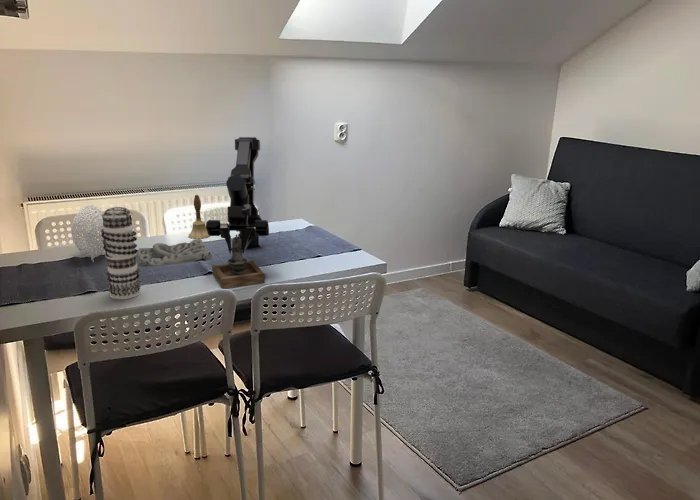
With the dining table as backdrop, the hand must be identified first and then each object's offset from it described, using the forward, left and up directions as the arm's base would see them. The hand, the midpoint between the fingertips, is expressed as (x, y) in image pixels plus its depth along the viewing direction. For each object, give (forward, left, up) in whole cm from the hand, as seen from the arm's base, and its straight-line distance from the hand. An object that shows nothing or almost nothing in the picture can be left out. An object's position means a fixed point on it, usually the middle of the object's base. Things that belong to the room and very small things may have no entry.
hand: (236, 252), depth 183 cm
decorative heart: (+40, -39, -9) cm, 56 cm away
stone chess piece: (0, -1, -7) cm, 7 cm away
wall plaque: (+14, -32, -10) cm, 37 cm away
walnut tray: (0, -1, -9) cm, 9 cm away
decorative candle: (+33, -1, -9) cm, 34 cm away
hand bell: (+2, -52, -9) cm, 53 cm away
